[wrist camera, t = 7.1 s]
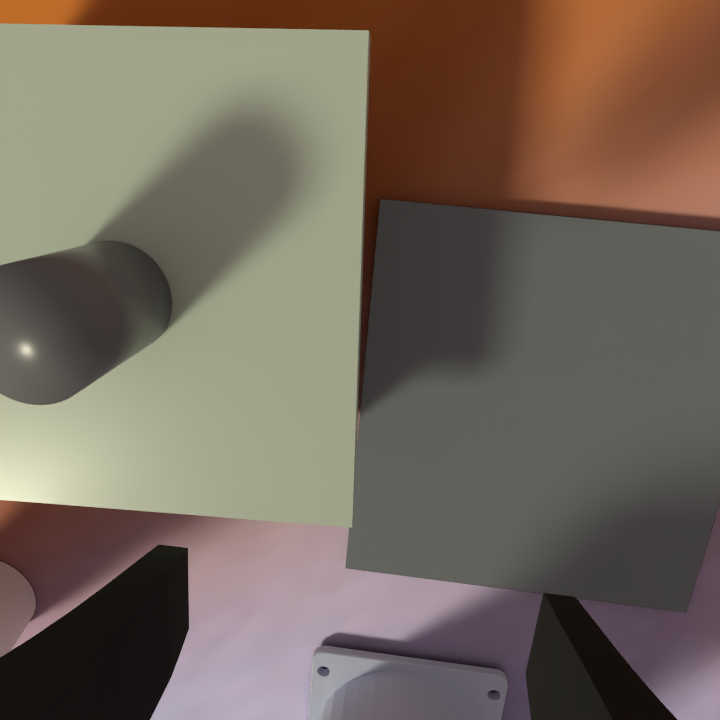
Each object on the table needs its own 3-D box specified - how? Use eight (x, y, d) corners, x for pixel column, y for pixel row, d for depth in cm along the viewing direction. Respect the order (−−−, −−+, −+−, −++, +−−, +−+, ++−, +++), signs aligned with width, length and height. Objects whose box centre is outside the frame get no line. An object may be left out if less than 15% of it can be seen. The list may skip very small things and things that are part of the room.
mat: (681, 605, 23) (686, 612, 23) (346, 561, 24) (345, 568, 24) (792, 237, 19) (800, 239, 19) (380, 198, 20) (380, 199, 19)
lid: (354, 516, 18) (334, 625, 14) (-54, 484, 19) (-191, 577, 15) (371, 35, 14) (350, -21, 10) (-144, 26, 15) (-367, -30, 11)
